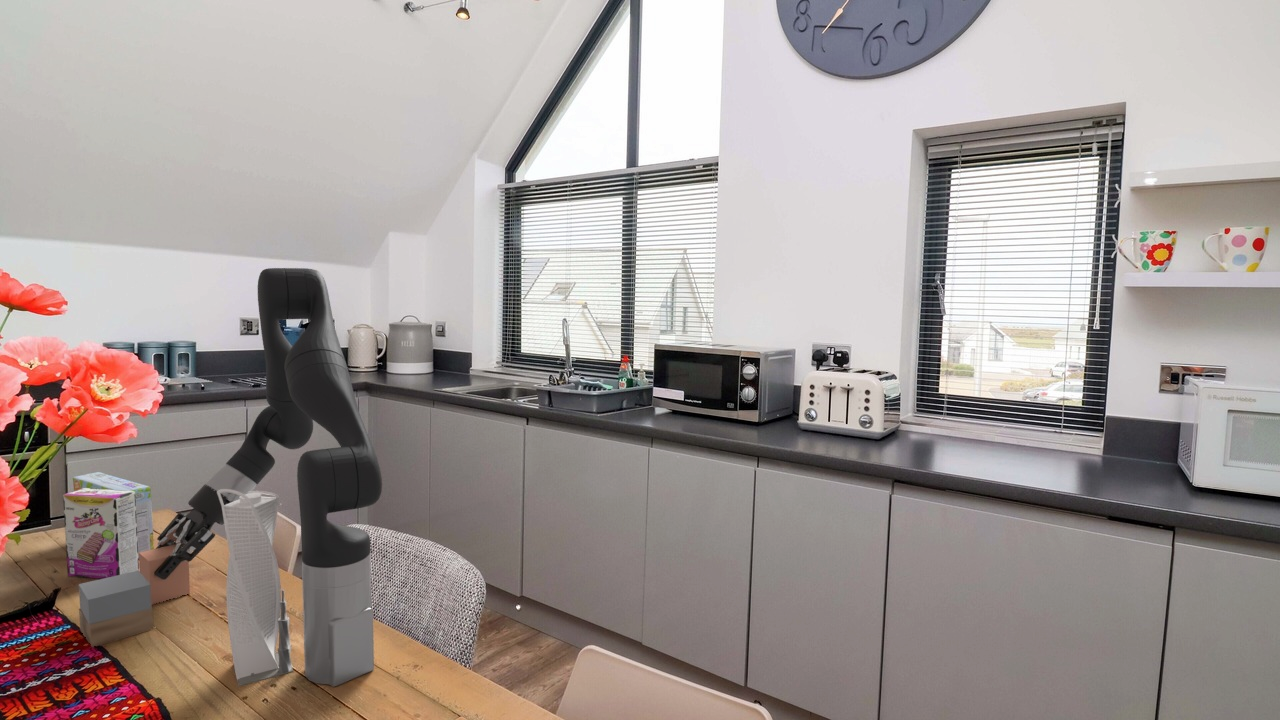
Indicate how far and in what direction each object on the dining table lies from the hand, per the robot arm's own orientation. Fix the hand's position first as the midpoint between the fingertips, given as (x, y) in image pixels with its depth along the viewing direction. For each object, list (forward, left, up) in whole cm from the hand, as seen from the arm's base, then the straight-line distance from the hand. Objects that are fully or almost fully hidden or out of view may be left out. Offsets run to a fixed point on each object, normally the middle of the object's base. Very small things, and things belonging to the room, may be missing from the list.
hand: (153, 571), depth 123 cm
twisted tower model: (-38, -3, -5) cm, 38 cm away
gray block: (-9, +8, -1) cm, 12 cm away
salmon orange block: (0, -2, -5) cm, 5 cm away
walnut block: (-9, +8, -5) cm, 13 cm away
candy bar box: (+19, +3, -5) cm, 20 cm away
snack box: (+33, -2, -5) cm, 33 cm away
